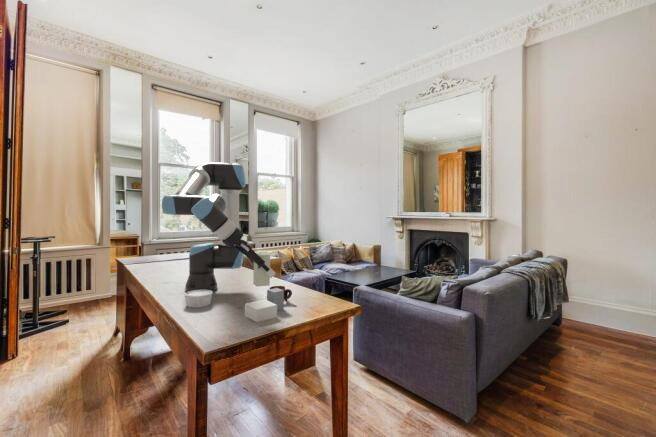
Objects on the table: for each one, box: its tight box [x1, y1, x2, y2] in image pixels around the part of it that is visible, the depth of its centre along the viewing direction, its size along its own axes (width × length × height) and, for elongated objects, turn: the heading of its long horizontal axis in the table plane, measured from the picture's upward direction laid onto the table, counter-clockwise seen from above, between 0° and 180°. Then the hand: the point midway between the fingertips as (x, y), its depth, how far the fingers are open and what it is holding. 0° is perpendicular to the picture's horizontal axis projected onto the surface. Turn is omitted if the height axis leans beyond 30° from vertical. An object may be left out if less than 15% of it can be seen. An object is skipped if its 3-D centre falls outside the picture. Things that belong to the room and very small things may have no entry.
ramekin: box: [184, 289, 214, 309], centre depth 130 cm, size 11×11×5 cm
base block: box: [244, 299, 278, 323], centre depth 118 cm, size 9×9×5 cm
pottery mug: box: [268, 285, 293, 302], centre depth 138 cm, size 12×10×8 cm
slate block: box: [266, 288, 285, 312], centre depth 127 cm, size 5×5×8 cm
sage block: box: [252, 252, 271, 287], centre depth 118 cm, size 5×5×12 cm
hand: (270, 274), depth 119 cm, fingers closed on sage block, 5 cm apart
